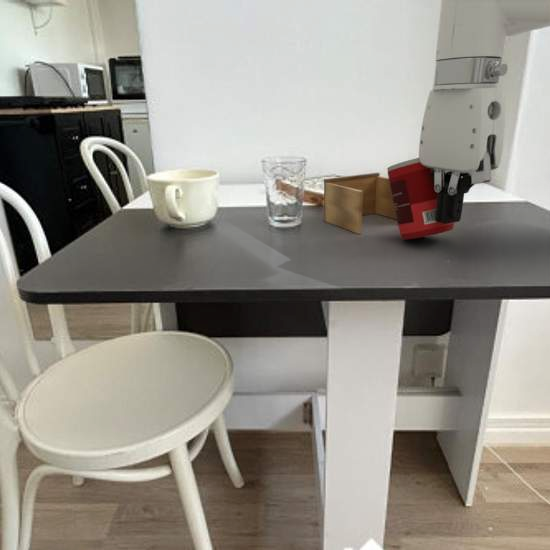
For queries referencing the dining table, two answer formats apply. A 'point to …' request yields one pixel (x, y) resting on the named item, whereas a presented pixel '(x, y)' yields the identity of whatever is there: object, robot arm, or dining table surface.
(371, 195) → the brown u-shaped panel piece
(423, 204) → the canned food
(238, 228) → the dining table surface
